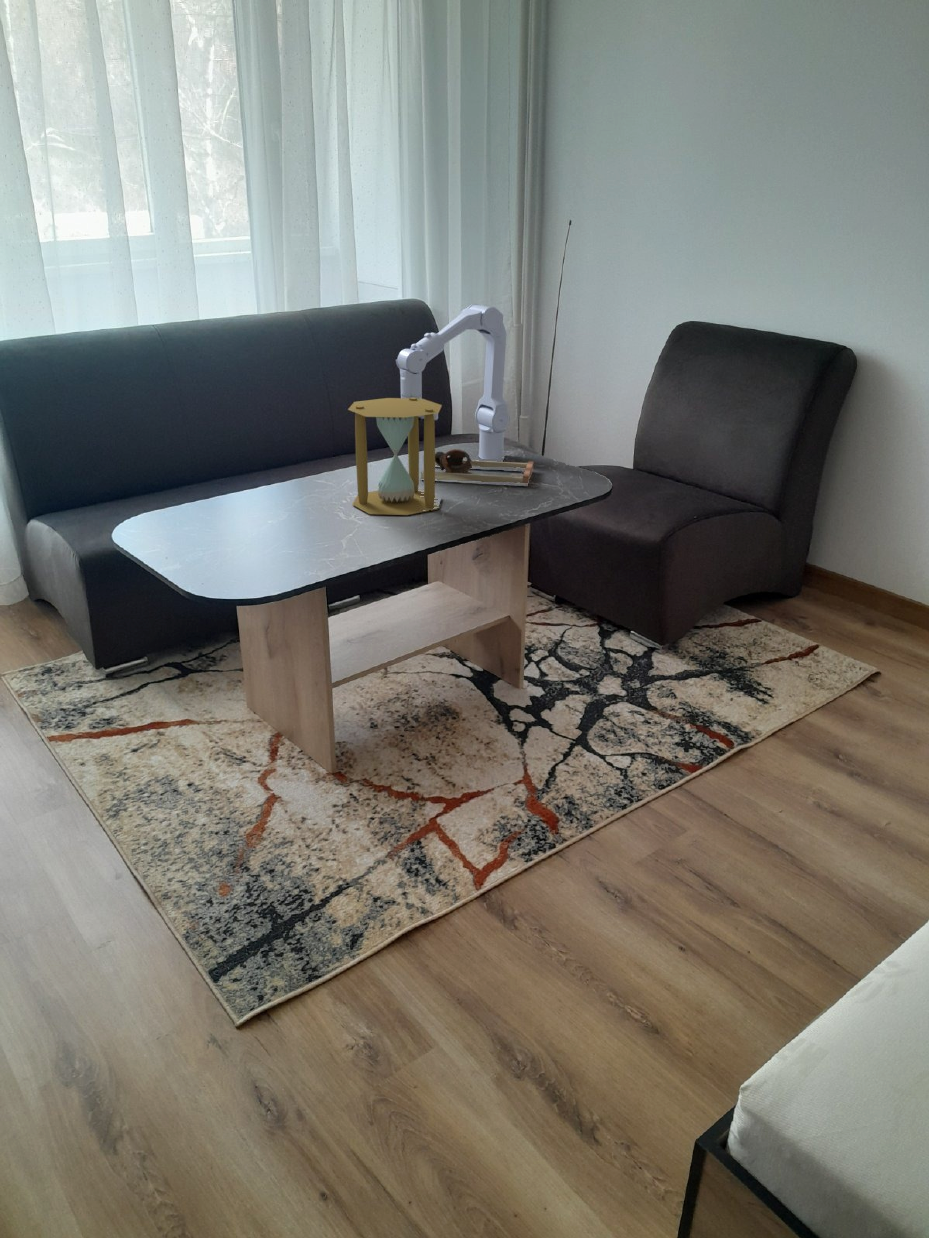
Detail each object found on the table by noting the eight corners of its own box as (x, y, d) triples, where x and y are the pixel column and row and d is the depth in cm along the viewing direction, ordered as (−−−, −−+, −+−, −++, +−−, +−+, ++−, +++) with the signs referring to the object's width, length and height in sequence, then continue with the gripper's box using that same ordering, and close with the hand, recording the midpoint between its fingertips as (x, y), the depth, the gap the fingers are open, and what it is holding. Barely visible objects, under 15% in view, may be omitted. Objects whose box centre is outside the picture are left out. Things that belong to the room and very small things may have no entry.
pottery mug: (477, 473, 267) (478, 453, 260) (461, 495, 262) (462, 474, 255) (440, 458, 270) (440, 437, 263) (424, 479, 265) (424, 458, 258)
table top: (431, 466, 271) (431, 456, 270) (533, 472, 267) (533, 461, 266) (420, 481, 258) (420, 470, 256) (527, 487, 254) (528, 476, 252)
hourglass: (432, 487, 253) (432, 393, 242) (453, 513, 233) (453, 412, 223) (345, 493, 247) (341, 397, 237) (358, 520, 227) (354, 417, 217)
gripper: (381, 396, 253) (383, 446, 259) (434, 399, 251) (434, 449, 257) (387, 391, 260) (388, 440, 265) (439, 393, 258) (439, 442, 263)
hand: (411, 444), depth 262 cm, fingers closed
